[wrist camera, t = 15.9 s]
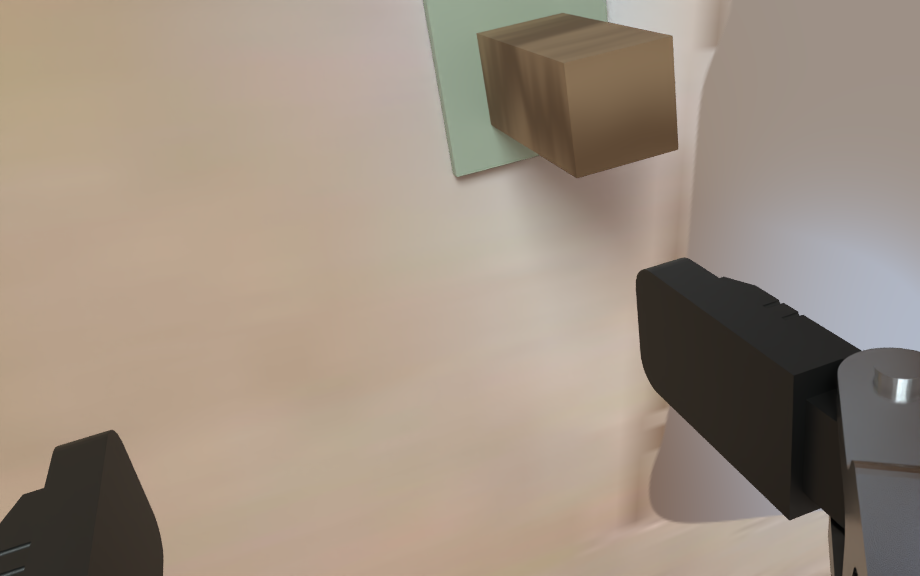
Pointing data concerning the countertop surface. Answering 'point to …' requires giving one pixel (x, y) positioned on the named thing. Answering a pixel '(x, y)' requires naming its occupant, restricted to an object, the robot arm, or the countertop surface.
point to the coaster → (461, 78)
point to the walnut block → (581, 90)
